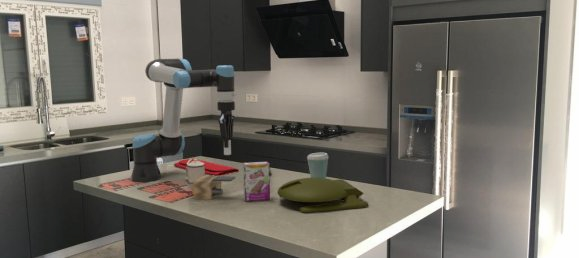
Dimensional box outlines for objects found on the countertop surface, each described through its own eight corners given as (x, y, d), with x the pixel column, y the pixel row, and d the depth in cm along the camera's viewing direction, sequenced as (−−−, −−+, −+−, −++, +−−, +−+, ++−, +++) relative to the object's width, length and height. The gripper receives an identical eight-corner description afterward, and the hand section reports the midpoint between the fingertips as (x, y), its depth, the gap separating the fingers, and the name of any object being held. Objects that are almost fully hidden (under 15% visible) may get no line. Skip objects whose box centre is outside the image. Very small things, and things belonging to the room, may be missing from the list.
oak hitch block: (194, 198, 217) (193, 181, 216) (205, 191, 229) (205, 175, 228) (210, 199, 215) (210, 182, 214) (221, 192, 227) (220, 175, 226)
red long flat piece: (216, 177, 260) (216, 170, 259) (173, 167, 288) (172, 161, 287) (239, 172, 271) (239, 165, 271) (195, 163, 299) (194, 157, 298)
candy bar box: (245, 202, 210) (244, 164, 208) (243, 199, 215) (242, 162, 213) (270, 200, 212) (269, 163, 210) (268, 197, 217) (267, 161, 215)
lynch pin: (192, 197, 219) (191, 186, 218) (197, 194, 224) (196, 183, 223) (219, 199, 216) (219, 187, 215) (224, 195, 221) (223, 184, 220)
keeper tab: (211, 181, 215) (211, 179, 215) (217, 178, 221) (216, 176, 221) (230, 181, 213) (230, 179, 213) (235, 178, 218) (235, 176, 218)
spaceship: (344, 190, 229) (344, 169, 227) (370, 208, 199) (370, 185, 198) (271, 196, 220) (270, 175, 219) (287, 216, 191) (286, 192, 189)
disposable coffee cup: (315, 187, 233) (315, 156, 231) (303, 183, 242) (302, 153, 240) (333, 184, 239) (333, 154, 237) (320, 180, 248) (319, 150, 246)
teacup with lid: (209, 180, 251) (208, 158, 249) (196, 184, 244) (195, 161, 242) (193, 177, 258) (192, 156, 257) (179, 181, 251) (178, 159, 249)
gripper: (228, 102, 204) (230, 157, 208) (239, 100, 217) (240, 152, 220) (211, 102, 206) (213, 157, 210) (223, 99, 219) (225, 151, 222)
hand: (227, 154), depth 215 cm, fingers closed
